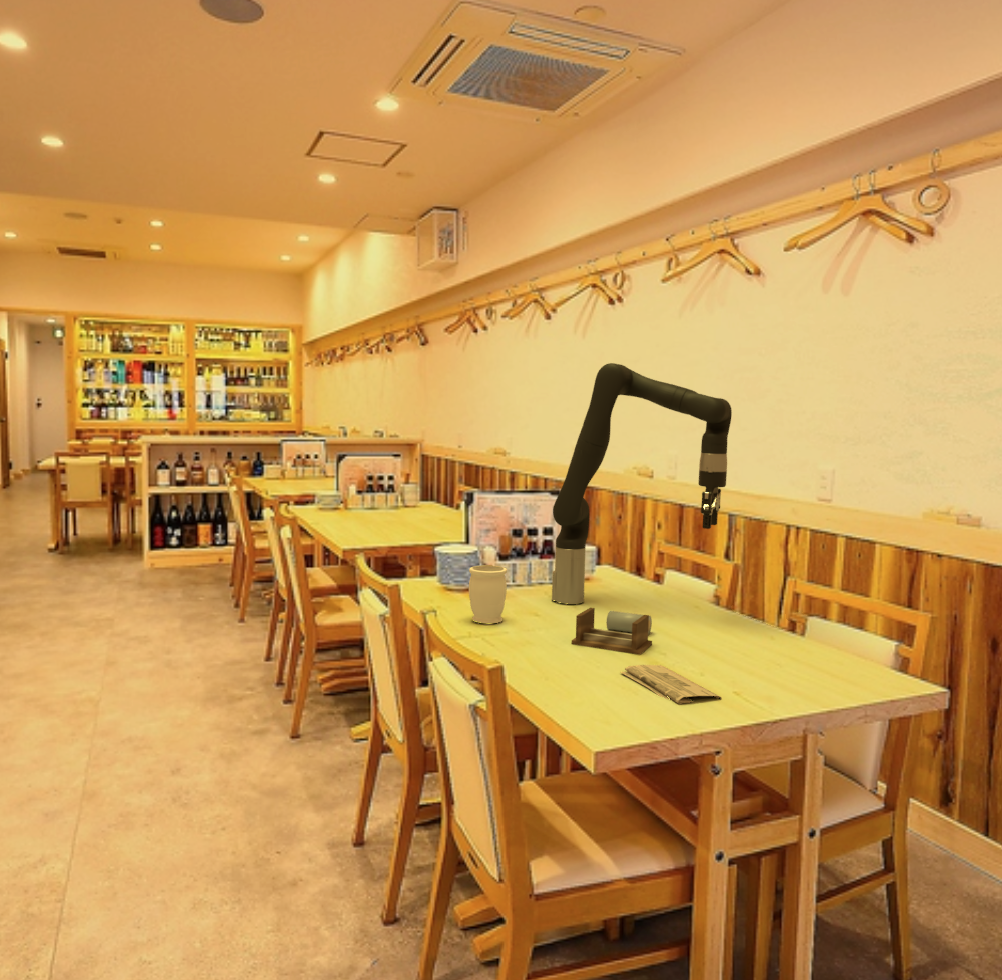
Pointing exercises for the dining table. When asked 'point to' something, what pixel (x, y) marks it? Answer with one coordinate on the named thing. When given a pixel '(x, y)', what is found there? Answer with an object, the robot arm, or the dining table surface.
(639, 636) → the holder
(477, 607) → the jar
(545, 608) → the dining table surface
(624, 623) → the cylinder
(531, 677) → the dining table surface
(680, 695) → the newspaper
